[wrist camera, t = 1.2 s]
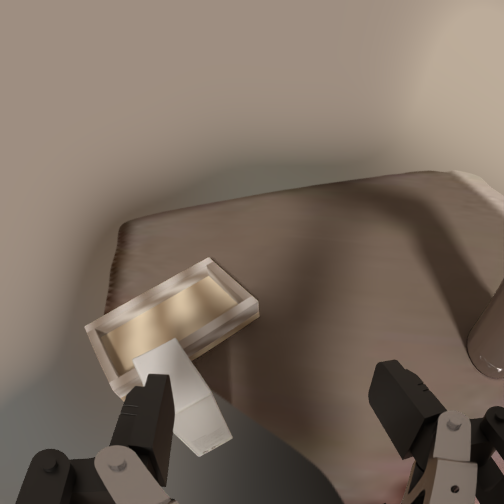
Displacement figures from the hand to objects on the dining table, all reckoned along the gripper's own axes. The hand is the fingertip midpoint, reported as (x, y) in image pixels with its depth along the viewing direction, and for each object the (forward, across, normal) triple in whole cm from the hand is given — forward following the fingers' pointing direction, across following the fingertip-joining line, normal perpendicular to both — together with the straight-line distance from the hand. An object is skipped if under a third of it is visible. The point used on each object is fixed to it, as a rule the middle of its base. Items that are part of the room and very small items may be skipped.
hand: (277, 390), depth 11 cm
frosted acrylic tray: (+26, +9, +12) cm, 30 cm away
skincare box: (+14, +4, +17) cm, 22 cm away
